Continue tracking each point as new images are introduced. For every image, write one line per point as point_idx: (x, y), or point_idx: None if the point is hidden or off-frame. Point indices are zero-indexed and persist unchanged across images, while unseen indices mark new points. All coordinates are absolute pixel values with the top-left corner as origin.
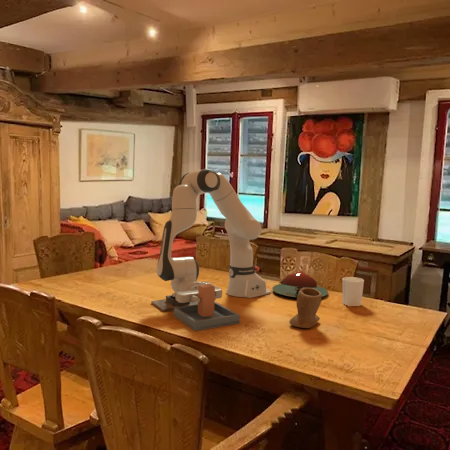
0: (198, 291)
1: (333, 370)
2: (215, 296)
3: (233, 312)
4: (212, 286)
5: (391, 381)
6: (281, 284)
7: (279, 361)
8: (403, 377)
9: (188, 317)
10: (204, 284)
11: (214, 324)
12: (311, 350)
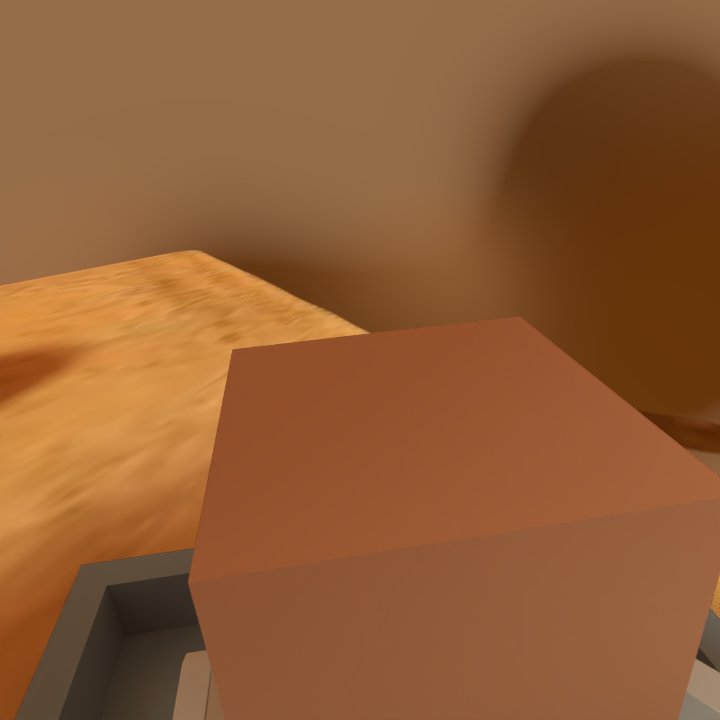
0: (673, 662)
1: (193, 283)
2: (187, 653)
3: (63, 656)
4: (277, 361)
5: (133, 265)
6: None
7: (286, 307)
8: (92, 269)
9: (712, 611)
10: (448, 526)
11: None
12: (124, 333)
